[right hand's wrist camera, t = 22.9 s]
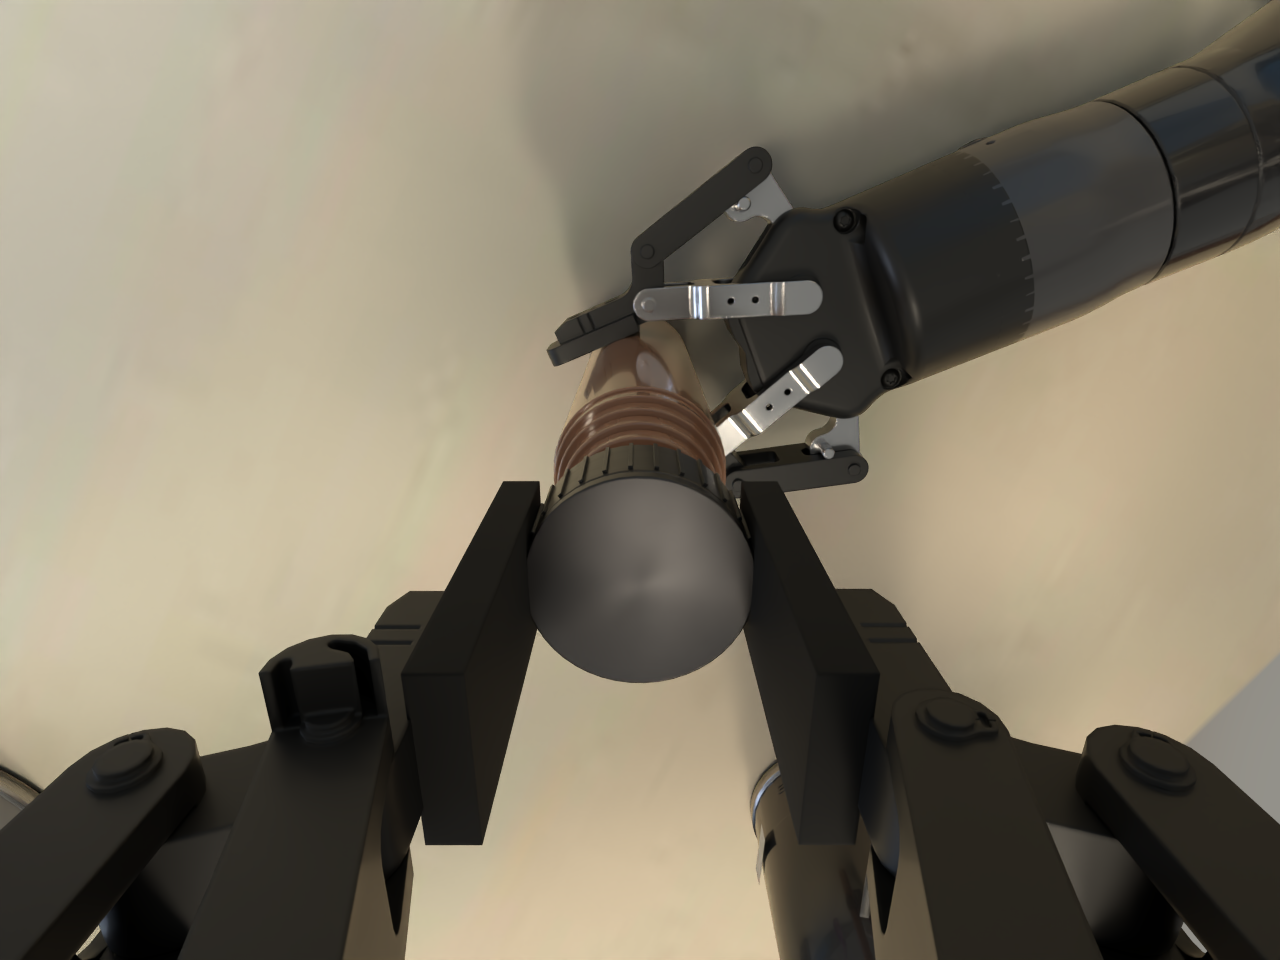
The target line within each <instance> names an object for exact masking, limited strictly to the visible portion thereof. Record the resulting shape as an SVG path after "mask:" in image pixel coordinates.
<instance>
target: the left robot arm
mask: <svg viewBox="0 0 1280 960" xmlns="http://www.w3.org/2000/svg"><path fill="white" fill-rule="evenodd" d="M771 170H772V159H771V156H770V154H769V153H768V152H767V151H766V150H765V149H763V148H761V147H751V148H749V149H747V150H746V151H744V152H743V153H741V154H740V155H739V156H737V157H736V158H735V159H733V160H732V161H731V162H730V163H728V164H727V165H726V166H725V167H723V168H722V169H721V170H720V171H719V172H717V173H716V174H715V175H714V176H712V177H711V178H710V179H709V180H707V181H706V182H705V183H704V184H702V185H701V186H700V187H699V188H697V189H696V190H695V191H694V192H692V193H691V194H690V195H689V196H688V197H686V198H685V199H684V200H683V201H681V202H680V203H679V204H678V205H676V206H675V207H674V208H673V209H671V210H670V211H669V212H668V213H666V214H665V215H664V216H663V217H662V218H660V219H659V220H658V221H657V222H655V223H654V224H653V225H652V226H650V227H649V228H648V229H647V230H645V231H644V232H643V233H642V234H640V235H639V236H638V237H637V238H636V239H635V240H634V242H633V244H632V247H631V263H632V283H631V285H630V287H629V289H628V290H627V291H626V292H625V293H624V294H622V295H620V296H618V297H615V298H613V299H611V300H609V301H606V302H604V303H602V304H599V305H597V306H595V307H592V308H590V309H588V310H585V311H583V312H581V313H578V314H576V315H574V316H572V317H569V318H567V319H566V320H565V322H564V323H563V324H562V325H561V326H560V327H559V328H558V329H557V330H556V332H555V334H556V337H557V339H558V341H556V342H554V343H552V344H551V345H550V346H549V347H548V349H547V353H548V355H549V357H550V359H551V361H552V363H553V366H559V365H561V364H564V363H566V362H569V361H571V360H573V359H576V358H578V357H581V356H583V355H585V354H588V353H590V352H592V351H595V350H597V349H599V348H602V347H604V346H607V345H609V344H611V343H613V342H615V341H617V340H620V339H623V338H625V337H628V336H630V335H633V334H635V333H637V332H640V325H641V324H643V323H645V322H648V321H663V320H679V319H703V320H707V319H724V321H725V324H726V327H727V329H728V331H729V332H730V334H731V335H732V336H733V338H734V339H735V341H736V342H737V343H738V345H739V354H740V365H741V368H742V370H743V373H744V376H745V378H746V379H745V380H743V381H742V382H741V383H740V384H739V385H738V386H736V387H735V388H734V389H733V390H732V391H731V392H730V393H729V394H728V395H727V396H726V398H725V400H724V401H723V402H722V403H721V404H720V405H718V406H717V407H716V408H715V409H714V410H713V411H711V415H712V417H713V420H714V422H715V425H716V428H717V430H718V433H719V436H720V438H721V441H722V444H723V448H724V452H725V458H726V485H725V486H726V487H727V489H728V490H732V491H733V493H734V496H735V498H740V497H741V481H778V483H779V485H780V487H781V489H782V491H783V492H790V491H797V490H805V489H812V488H820V487H827V486H835V485H842V484H850V483H856V482H859V481H861V480H862V479H864V478H865V476H866V475H867V473H868V463H867V461H866V460H865V459H864V458H863V457H862V455H861V453H860V445H859V415H860V414H862V413H863V412H865V411H866V410H867V409H868V408H869V407H870V406H871V404H872V403H873V402H874V401H875V400H876V399H878V398H879V397H880V396H881V395H883V394H884V393H886V392H888V391H890V390H893V389H896V388H899V387H902V386H905V385H908V384H911V383H913V382H916V381H919V380H921V379H924V378H926V377H929V376H931V375H934V374H936V373H939V372H942V371H944V370H947V369H949V368H952V367H954V366H957V365H960V364H962V363H965V362H967V361H970V360H972V359H975V358H977V357H980V356H983V355H985V354H988V353H990V352H993V351H995V350H998V349H1000V348H1003V347H1006V346H1008V345H1011V344H1013V343H1016V342H1018V341H1021V340H1024V339H1026V338H1029V337H1031V336H1034V335H1036V334H1039V333H1041V332H1044V331H1047V330H1049V329H1052V328H1054V327H1057V326H1059V325H1062V324H1065V323H1067V322H1070V321H1072V320H1074V319H1077V318H1079V317H1081V316H1084V315H1086V314H1088V313H1090V312H1091V311H1093V310H1095V309H1097V308H1099V307H1101V306H1103V305H1105V304H1107V303H1109V302H1110V301H1112V300H1114V299H1116V298H1117V297H1119V296H1121V295H1123V294H1125V293H1127V292H1129V291H1132V290H1134V289H1136V288H1138V287H1140V286H1142V285H1146V284H1149V283H1151V282H1154V281H1156V280H1159V279H1161V278H1164V277H1166V276H1169V275H1172V274H1174V273H1177V272H1179V271H1182V270H1184V269H1187V268H1189V267H1192V266H1195V265H1197V264H1200V263H1202V262H1205V261H1207V260H1210V259H1212V258H1215V257H1217V256H1220V255H1222V254H1224V253H1227V252H1230V251H1232V250H1235V249H1237V248H1239V247H1242V246H1244V245H1247V244H1249V243H1251V242H1253V241H1255V240H1257V239H1259V238H1261V237H1263V236H1265V235H1267V234H1269V233H1271V232H1273V231H1275V230H1277V229H1278V228H1280V0H1271V1H1270V2H1269V3H1267V4H1266V5H1265V6H1263V7H1262V8H1261V9H1259V10H1258V11H1256V12H1255V13H1254V14H1252V15H1251V16H1249V17H1248V18H1246V19H1245V20H1244V21H1242V22H1241V23H1239V24H1238V25H1237V26H1235V27H1234V28H1232V29H1231V30H1229V31H1228V32H1227V33H1225V34H1224V35H1222V36H1221V37H1220V38H1218V39H1217V40H1216V41H1214V42H1213V43H1212V44H1210V45H1209V46H1207V47H1206V48H1205V49H1203V50H1202V51H1200V52H1199V53H1197V54H1196V55H1194V56H1193V57H1191V58H1189V59H1187V60H1185V61H1182V62H1180V63H1178V64H1175V65H1173V66H1171V67H1168V68H1166V69H1164V70H1162V71H1159V72H1158V73H1155V74H1152V75H1150V76H1148V77H1145V78H1143V79H1141V80H1138V81H1136V82H1134V83H1132V84H1129V85H1127V86H1125V87H1122V88H1120V89H1118V90H1115V91H1113V92H1111V93H1108V94H1106V95H1104V96H1101V97H1099V98H1097V99H1094V100H1092V101H1090V102H1087V103H1085V104H1082V105H1080V106H1077V107H1075V108H1072V109H1069V110H1065V111H1062V112H1059V113H1055V114H1051V115H1048V116H1044V117H1040V118H1037V119H1034V120H1031V121H1027V122H1025V123H1022V124H1019V125H1017V126H1014V127H1012V128H1009V129H1007V130H1005V131H1003V132H1000V133H998V134H996V135H993V136H991V137H986V138H982V139H977V140H974V141H972V142H970V143H968V144H966V145H964V146H962V147H961V148H960V149H958V151H956V152H954V153H952V154H949V155H947V156H944V157H942V158H940V159H938V160H935V161H933V162H931V163H928V164H926V165H924V166H921V167H919V168H917V169H915V170H912V171H910V172H908V173H905V174H903V175H901V176H898V177H896V178H894V179H891V180H889V181H887V182H884V183H882V184H880V185H878V186H875V187H873V188H871V189H868V190H866V191H864V192H861V193H859V194H857V195H854V196H852V197H850V198H847V199H845V200H843V201H840V202H838V203H836V204H834V205H831V206H828V207H825V208H822V209H810V208H793V207H792V205H791V204H790V202H789V201H788V199H787V197H786V196H785V194H784V193H783V191H782V190H781V188H780V186H779V185H778V183H777V182H776V180H775V178H774V177H773V175H772V174H771ZM723 213H724V214H725V216H726V217H727V218H728V219H729V220H731V221H734V222H743V221H747V220H749V219H750V218H752V217H755V216H758V217H761V218H763V219H765V220H766V221H767V223H768V225H767V227H766V228H765V230H764V231H763V233H762V235H761V236H760V238H759V239H758V241H757V243H756V244H755V246H754V247H753V249H752V250H751V252H750V254H749V255H748V257H747V258H746V260H745V262H744V263H743V265H742V266H741V268H740V269H739V271H738V273H737V274H736V276H735V277H729V278H713V279H697V280H691V281H680V282H664V262H663V260H664V259H666V258H667V257H668V256H669V255H671V254H672V253H673V252H675V251H676V250H677V249H678V248H680V247H681V246H682V245H683V244H685V243H686V242H687V241H688V240H690V239H691V238H692V237H694V236H695V235H696V234H697V233H699V232H700V231H701V230H702V229H704V228H705V227H706V226H707V225H709V224H710V223H711V222H713V221H714V220H715V219H716V218H718V217H719V216H720V215H721V214H723ZM768 404H770V406H769V407H766V406H767V405H768ZM791 408H796V409H800V410H804V411H809V412H813V413H817V414H822V415H826V416H830V419H829V421H828V422H827V424H826V425H825V426H823V427H821V428H819V429H815V430H813V431H812V432H810V433H809V434H808V436H807V437H806V440H805V443H799V444H792V445H785V446H777V447H770V448H763V449H755V450H748V451H741V452H735V451H734V450H735V449H736V448H737V447H738V446H739V445H741V444H742V443H743V442H744V441H745V440H747V439H748V438H750V437H752V436H756V435H758V434H760V433H761V432H763V431H764V430H765V429H766V428H768V427H769V426H770V425H771V424H773V423H774V422H775V421H776V420H777V419H779V418H780V417H781V416H782V415H784V414H785V413H786V412H787V411H788V410H790V409H791ZM751 818H752V823H753V828H754V832H755V835H756V837H757V840H758V845H759V848H758V856H757V864H756V871H757V876H758V882H759V883H760V875H761V867H762V868H763V873H764V879H765V884H766V889H767V894H768V900H769V905H770V910H771V915H772V920H773V926H774V931H775V936H776V941H777V947H778V952H779V957H780V960H876V958H875V949H874V939H873V930H872V920H871V911H870V914H869V918H864V917H860V911H861V904H862V897H863V891H864V884H865V878H866V872H867V865H868V859H869V852H870V846H871V840H870V838H869V835H868V832H867V830H866V827H865V824H864V821H863V819H862V816H861V813H860V816H859V823H858V830H857V837H856V844H855V845H798V841H797V837H796V833H795V829H794V825H793V821H792V817H791V813H790V810H789V806H788V802H787V798H786V794H785V790H784V786H783V782H782V778H781V774H780V770H779V766H778V762H777V763H776V764H775V765H773V766H772V767H771V768H770V769H769V770H768V771H767V772H766V773H765V774H764V775H763V776H762V777H761V779H760V780H759V782H758V783H757V785H756V787H755V789H754V792H753V795H752V799H751Z"/></svg>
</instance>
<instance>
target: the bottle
mask: <svg viewBox="0 0 1280 960" xmlns="http://www.w3.org/2000/svg"><path fill="white" fill-rule="evenodd" d="M629 443H633V444H634V445H653V443H656V444H658V446H660V447H665V448H669V449H672V450H677V449H680V450H681V453H683V454H686V455H688V456H690V457H692V458H694V459H696V460H698V458H699V459H700V460H702V463H703V464H704V465H705V466H706V467H707V468H709V469H710V470H711V471H712V472H713V473H714V474H715V473H718V474H719V475H720V478H721V481H722V482H723V483H724V485H726V458H725V452H724V448H723V444H722V441H721V438H720V436H719V433H718V430H717V428H716V425H715V422H714V420H713V417H712V415H711V412H710V409H709V407H708V404H707V401H706V399H705V396H704V394H703V391H702V388H701V386H700V383H699V380H698V378H697V375H696V373H695V370H694V367H693V365H692V362H691V359H690V357H689V354H688V352H687V349H686V346H685V344H684V342H683V339H682V338H681V336H680V335H679V333H678V332H677V331H676V330H675V328H674V327H672V326H671V325H670V324H669V323H668V322H666V321H665V320H663V321H648V322H645V323H643V324H641V325H640V332H637V333H635V334H633V335H630V336H628V337H625V338H623V339H620V340H617V341H615V342H613V343H611V344H609V345H607V346H604V347H602V348H599V349H597V350H595V351H592V354H591V356H590V359H589V362H588V364H587V367H586V370H585V372H584V375H583V378H582V380H581V383H580V385H579V388H578V391H577V393H576V396H575V399H574V401H573V404H572V407H571V409H570V412H569V414H568V417H567V420H566V422H565V425H564V428H563V430H562V433H561V436H560V438H559V441H558V444H557V448H556V452H555V458H554V485H556V484H557V482H558V481H559V480H560V479H561V478H562V477H563V476H564V473H565V470H566V469H567V468H568V469H569V470H570V469H571V468H573V467H574V466H575V465H577V464H578V463H580V462H581V461H583V459H584V457H585V456H587V455H588V457H590V456H592V455H594V454H596V453H599V452H602V451H605V449H606V447H610V449H611V448H616V447H620V446H627V445H629Z"/></svg>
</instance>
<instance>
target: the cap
mask: <svg viewBox="0 0 1280 960" xmlns="http://www.w3.org/2000/svg"><path fill="white" fill-rule="evenodd" d="M530 535H531V536H533V537H532V539H531V543H530V545H529V548H528V552H527V572H528V588H529V603H530V615H531V617H532V619H533V621H534V623H535V625H536V627H537V629H538V630H539V632H540V633H541V635H542V636H543V638H544V639H545V640H546V641H547V642H548V643H549V645H550V646H551V647H552V648H553V649H554V650H555V651H556V652H558V653H559V654H560V655H561V656H562V657H563V658H565V659H566V660H568V661H569V662H571V663H572V664H574V665H575V666H577V667H579V668H581V669H583V670H585V671H587V672H589V673H591V674H594V675H597V676H599V677H602V678H606V679H610V680H615V681H621V682H629V683H650V682H660V681H665V680H670V679H674V678H677V677H680V676H684V675H687V674H689V673H691V672H693V671H695V670H698V669H700V668H701V667H703V666H705V665H706V664H708V663H710V662H711V661H713V660H714V659H715V658H717V657H718V656H719V655H720V654H722V653H723V652H724V651H725V650H726V649H727V648H728V647H729V646H730V645H731V644H732V643H733V641H734V640H735V639H736V638H737V636H738V635H739V634H740V632H741V631H742V629H743V627H744V625H745V624H746V622H747V620H748V618H749V615H750V613H751V600H752V585H753V570H754V554H753V551H752V548H751V545H750V543H749V542H751V535H750V533H749V530H748V527H747V524H746V521H745V518H744V516H743V513H742V510H741V509H739V508H738V505H737V502H736V499H735V496H734V493H733V491H732V490H728V489H727V487H726V486H725V485H724V483H723V482H722V481H721V478H720V475H719V474H718V473H715V474H714V473H713V472H712V471H711V470H710V469H709V468H707V467H706V466H705V465H704V464H703V463H702V460H700V459H699V458H698V460H696V459H694V458H692V457H690V456H688V455H686V454H683V453H681V450H680V449H677V450H672V449H669V448H665V447H660V446H658V444H656V443H653V445H634V444H633V443H629V445H627V446H620V447H616V448H611V449H610V447H606V449H605V451H602V452H599V453H596V454H594V455H592V456H590V457H588V455H587V456H585V457H584V459H583V461H581V462H580V463H578V464H577V465H575V466H574V467H573V468H571V469H570V470H569V469H568V468H567V469H566V470H565V473H564V476H563V477H562V478H561V479H560V480H559V481H558V482H557V484H556V485H555V486H554V485H553V484H552V486H551V487H550V490H549V493H548V495H547V498H546V501H545V504H542V503H541V505H540V508H539V511H538V513H537V516H536V519H535V522H534V525H533V527H532V530H531V533H530Z"/></svg>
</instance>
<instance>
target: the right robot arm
mask: <svg viewBox="0 0 1280 960" xmlns="http://www.w3.org/2000/svg"><path fill="white" fill-rule="evenodd" d="M540 505H541V500H540V482H539V481H503V483H502V485H501V487H500V488H499V490H498V492H497V494H496V496H495V498H494V500H493V502H492V503H491V505H490V507H489V509H488V511H487V513H486V515H485V517H484V518H483V520H482V522H481V524H480V526H479V528H478V530H477V531H476V533H475V535H474V537H473V539H472V541H471V543H470V545H469V546H468V548H467V550H466V552H465V554H464V556H463V558H462V560H461V561H460V563H459V565H458V567H457V569H456V571H455V573H454V575H453V576H452V578H451V580H450V582H449V584H448V586H447V588H446V589H445V591H409V592H408V593H406V594H405V595H404V596H402V597H401V598H399V599H398V600H396V601H395V602H394V603H392V604H391V605H389V606H388V607H387V608H386V609H385V611H384V612H383V614H382V615H381V617H380V618H379V620H378V621H377V623H376V624H375V629H372V630H371V632H370V633H369V635H368V636H367V638H364V637H360V636H356V635H328V636H323V637H318V638H313V639H309V640H306V641H304V642H301V643H299V644H296V645H294V646H291V647H289V648H287V649H285V650H284V651H282V652H281V653H279V654H278V655H276V656H275V657H273V658H271V659H270V660H269V661H268V662H267V664H266V665H265V666H264V667H263V668H262V670H261V671H260V672H259V677H260V681H261V686H262V690H263V694H264V699H265V703H266V707H267V712H268V716H269V720H270V724H271V729H272V733H271V735H270V738H269V740H268V741H265V742H261V743H258V744H254V745H251V746H247V747H242V748H238V749H233V750H229V751H224V752H219V753H215V754H210V755H206V756H201V757H200V756H199V752H198V749H197V745H196V741H195V739H194V738H193V737H191V736H190V735H189V734H188V733H187V732H186V731H183V730H177V729H172V728H159V729H149V730H142V731H139V732H135V733H132V734H129V735H128V734H127V735H125V736H122V737H119V738H116V739H114V740H112V741H110V742H108V743H106V744H104V745H102V746H100V747H98V748H96V749H94V750H92V751H90V752H89V753H88V754H86V755H85V756H83V757H82V758H81V759H79V760H78V761H77V762H75V763H74V764H73V765H71V766H70V767H69V768H67V769H66V770H65V771H64V772H63V773H62V774H61V775H60V776H59V777H58V778H57V779H55V780H54V781H53V782H52V783H51V784H50V785H49V786H48V787H47V788H46V789H45V790H43V791H42V792H41V793H40V794H39V793H38V792H36V791H35V790H34V789H32V788H31V787H29V786H28V785H26V784H25V783H23V782H22V781H20V780H18V779H17V778H15V777H13V776H11V775H9V774H7V773H6V772H4V771H1V770H0V960H405V950H406V941H407V932H408V922H409V913H410V903H411V894H412V884H413V875H414V873H413V866H412V859H411V852H410V843H411V841H412V838H413V835H414V833H415V830H416V827H417V824H418V822H419V819H420V816H421V818H422V825H423V831H424V838H425V845H482V844H483V840H484V836H485V832H486V828H487V824H488V821H489V817H490V813H491V809H492V805H493V801H494V797H495V793H496V789H497V785H498V781H499V777H500V773H501V769H502V766H503V762H504V758H505V754H506V750H507V746H508V742H509V738H510V734H511V730H512V726H513V722H514V718H515V714H516V710H517V707H518V703H519V699H520V695H521V691H522V687H523V683H524V679H525V675H526V671H527V667H528V663H529V659H530V655H531V651H532V648H533V644H534V640H535V636H536V632H537V627H536V625H535V623H534V621H533V619H532V617H531V615H530V603H529V588H528V572H527V552H528V548H529V545H530V543H531V539H532V537H533V536H531V535H530V533H531V530H532V527H533V525H534V522H535V519H536V516H537V513H538V511H539V508H540ZM740 509H741V510H742V513H743V516H744V518H745V521H746V524H747V527H748V530H749V533H750V535H751V542H749V543H750V545H751V548H752V551H753V554H754V570H753V585H752V600H751V613H750V615H749V618H748V620H747V622H746V624H745V625H744V627H743V629H744V633H745V637H746V641H747V644H748V648H749V652H750V656H751V660H752V664H753V668H754V672H755V676H756V680H757V684H758V688H759V692H760V696H761V700H762V703H763V707H764V711H765V715H766V719H767V723H768V727H769V731H770V735H771V739H772V743H773V747H774V751H775V755H776V758H777V762H778V766H779V770H780V774H781V778H782V782H783V786H784V790H785V794H786V798H787V802H788V806H789V810H790V813H791V817H792V821H793V825H794V829H795V833H796V837H797V841H798V845H855V844H856V837H857V830H858V823H859V816H860V813H861V816H862V819H863V821H864V824H865V827H866V830H867V832H868V835H869V838H870V840H871V846H870V852H869V859H868V865H867V872H866V878H865V884H864V891H863V897H862V904H861V911H860V917H864V918H869V914H870V911H871V920H872V930H873V939H874V949H875V958H876V960H1280V824H1279V823H1277V822H1276V821H1275V820H1274V819H1273V818H1272V817H1271V816H1270V815H1269V814H1268V813H1266V812H1265V811H1264V810H1263V809H1262V808H1261V807H1260V806H1259V805H1258V804H1257V803H1255V802H1254V801H1253V800H1252V799H1251V798H1250V797H1249V796H1248V795H1247V794H1246V793H1244V792H1243V791H1242V790H1241V789H1240V788H1239V787H1238V786H1237V785H1236V784H1235V783H1233V782H1232V781H1231V780H1230V779H1229V778H1228V777H1227V776H1226V775H1225V774H1224V773H1222V772H1221V771H1220V770H1219V769H1218V768H1217V767H1216V766H1215V765H1214V764H1212V763H1211V762H1210V761H1208V760H1207V759H1205V758H1204V757H1203V756H1201V755H1200V754H1199V753H1197V752H1196V751H1194V750H1193V749H1192V748H1190V747H1188V746H1186V745H1184V744H1182V743H1180V742H1178V741H1176V740H1174V739H1172V738H1170V737H1168V736H1166V735H1163V734H1160V733H1157V732H1152V731H1150V730H1147V729H1143V728H1139V727H1131V726H1122V725H1111V726H1105V727H1100V728H1096V729H1095V730H1094V731H1093V732H1092V733H1091V734H1089V735H1088V736H1087V738H1086V742H1085V745H1084V749H1083V752H1082V754H1079V753H1075V752H1070V751H1066V750H1061V749H1056V748H1052V747H1047V746H1043V745H1038V744H1033V743H1030V742H1026V741H1023V740H1019V739H1016V738H1012V737H1011V736H1010V734H1009V732H1008V730H1007V728H1006V727H1005V725H1004V724H1003V723H1002V721H1001V720H1000V718H999V717H998V716H997V715H996V714H995V713H993V712H992V711H991V710H989V709H988V708H987V707H985V706H984V705H983V704H981V703H979V702H977V701H975V700H973V699H971V698H969V697H966V696H964V695H962V694H959V693H955V692H952V691H951V689H950V688H949V686H948V685H947V683H946V682H945V680H944V679H943V677H942V676H941V674H940V673H939V671H938V670H937V668H936V667H935V665H934V664H933V662H932V661H931V659H930V658H929V656H928V655H927V653H926V652H925V650H924V649H923V647H922V646H921V644H920V643H917V638H916V637H915V635H914V634H913V632H912V631H911V629H910V628H909V627H907V625H906V622H905V620H904V619H903V617H902V616H901V614H900V613H899V611H898V610H897V608H896V607H895V605H894V604H892V603H891V602H889V601H888V600H886V599H885V598H884V597H882V596H881V595H879V594H878V593H876V592H875V591H874V590H872V589H835V588H834V586H833V584H832V582H831V580H830V579H829V577H828V575H827V573H826V571H825V569H824V567H823V565H822V564H821V562H820V560H819V558H818V556H817V554H816V552H815V550H814V549H813V547H812V545H811V543H810V541H809V539H808V537H807V536H806V534H805V532H804V530H803V528H802V526H801V524H800V522H799V521H798V519H797V517H796V515H795V513H794V511H793V509H792V507H791V506H790V504H789V502H788V500H787V498H786V496H785V494H784V493H783V491H782V489H781V487H780V485H779V483H778V481H741V497H740ZM1183 922H1184V923H1185V924H1186V925H1187V926H1188V928H1189V929H1190V930H1191V931H1192V932H1193V934H1194V935H1195V936H1196V937H1197V939H1198V940H1199V941H1200V942H1201V944H1202V945H1203V946H1204V947H1205V949H1206V950H1207V952H1206V953H1204V952H1202V951H1201V950H1200V949H1199V948H1198V947H1197V946H1196V945H1195V944H1194V943H1193V942H1192V941H1191V939H1190V938H1189V937H1188V936H1187V934H1186V933H1185V932H1184V931H1183V929H1182V928H1181V927H1182V925H1183ZM98 925H99V927H100V929H101V931H100V932H99V933H98V934H97V936H96V937H95V938H94V939H93V941H92V942H91V943H90V944H89V945H88V946H87V947H86V948H85V949H84V950H83V951H82V952H81V953H80V954H79V955H78V956H77V955H76V952H77V951H78V950H79V949H80V947H81V946H82V945H83V944H84V942H85V941H86V940H87V939H88V937H89V936H90V935H91V934H92V932H93V931H94V930H95V929H96V927H97V926H98Z"/></svg>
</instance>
